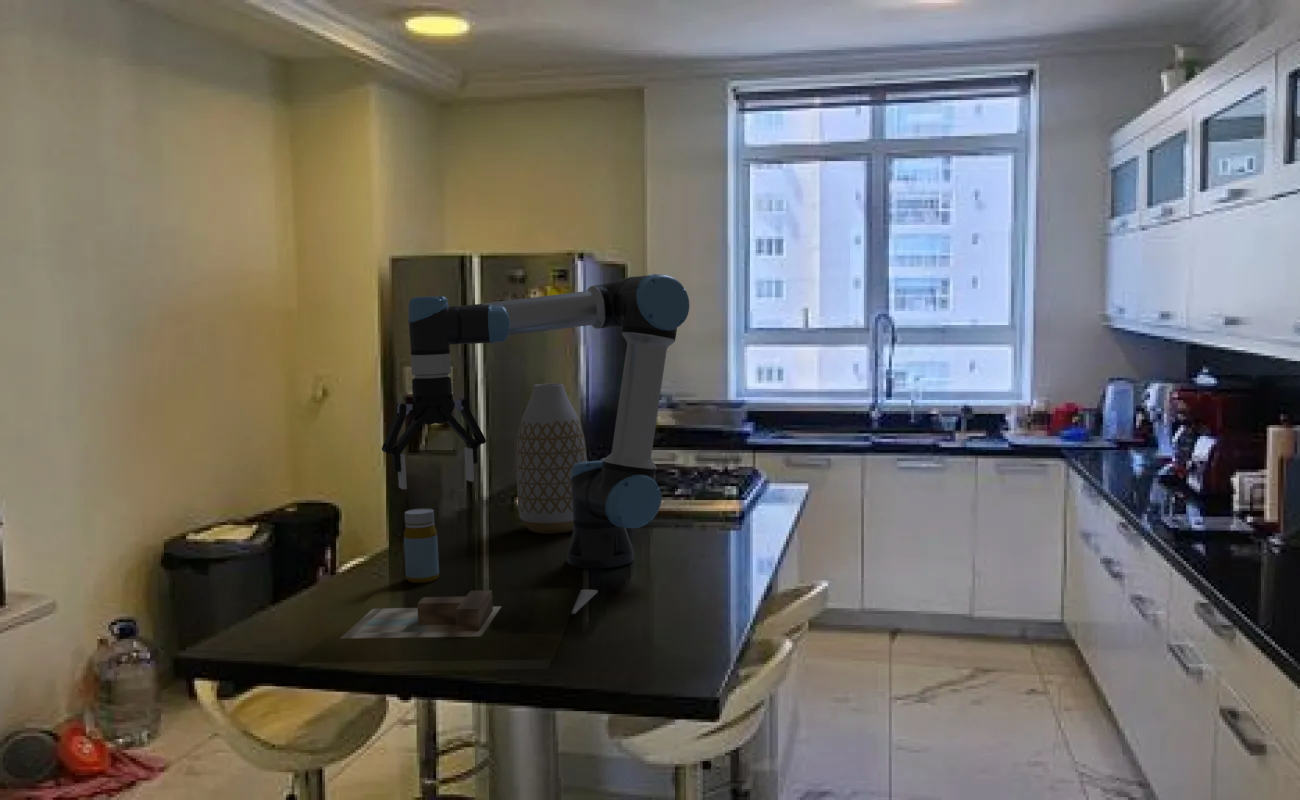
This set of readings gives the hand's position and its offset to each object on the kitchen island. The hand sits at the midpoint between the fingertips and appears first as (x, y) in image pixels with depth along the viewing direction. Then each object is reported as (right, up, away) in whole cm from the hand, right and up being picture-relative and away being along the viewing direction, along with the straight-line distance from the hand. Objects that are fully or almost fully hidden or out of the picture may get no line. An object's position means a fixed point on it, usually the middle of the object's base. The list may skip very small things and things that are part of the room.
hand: (436, 484), depth 205 cm
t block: (+6, -24, -14) cm, 28 cm away
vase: (+17, -17, +69) cm, 73 cm away
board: (0, -25, -14) cm, 29 cm away
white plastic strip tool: (+27, -24, 0) cm, 36 cm away
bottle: (-7, -23, +22) cm, 32 cm away
